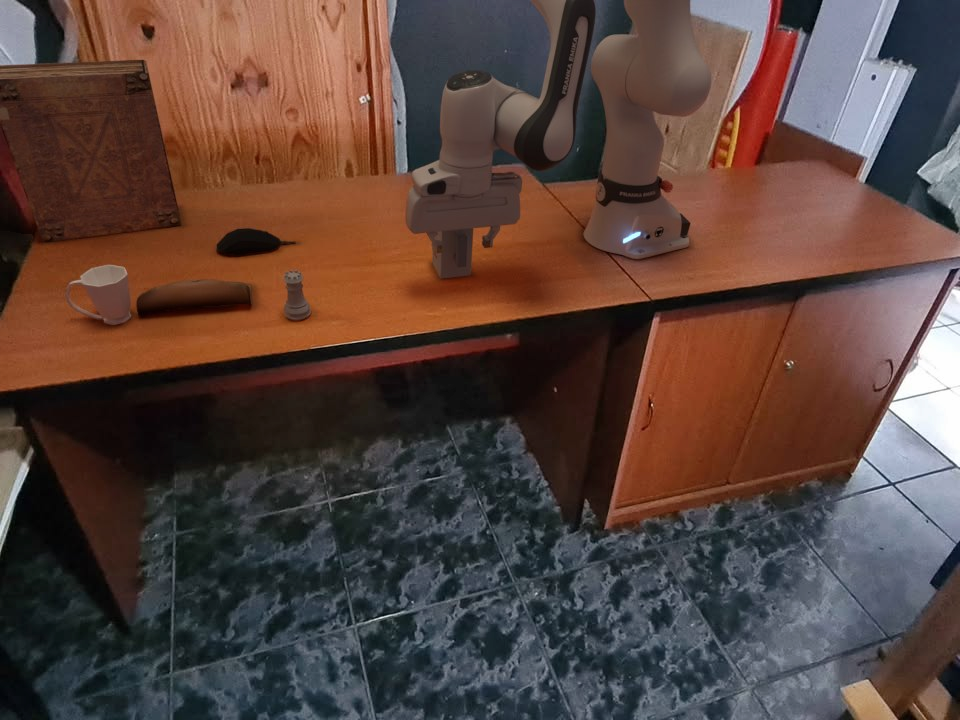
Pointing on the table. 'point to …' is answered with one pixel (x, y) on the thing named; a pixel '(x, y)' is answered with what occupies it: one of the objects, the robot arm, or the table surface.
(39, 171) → the book
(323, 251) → the table surface
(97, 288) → the cup
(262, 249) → the gaming mouse
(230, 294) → the sunglasses case
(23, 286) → the table surface
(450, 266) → the grey box with ridge
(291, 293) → the rook chess piece
